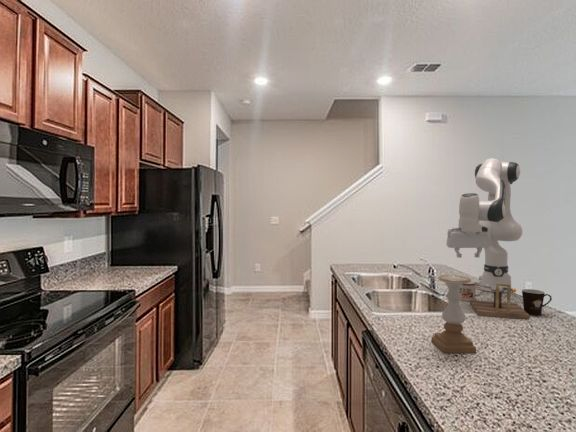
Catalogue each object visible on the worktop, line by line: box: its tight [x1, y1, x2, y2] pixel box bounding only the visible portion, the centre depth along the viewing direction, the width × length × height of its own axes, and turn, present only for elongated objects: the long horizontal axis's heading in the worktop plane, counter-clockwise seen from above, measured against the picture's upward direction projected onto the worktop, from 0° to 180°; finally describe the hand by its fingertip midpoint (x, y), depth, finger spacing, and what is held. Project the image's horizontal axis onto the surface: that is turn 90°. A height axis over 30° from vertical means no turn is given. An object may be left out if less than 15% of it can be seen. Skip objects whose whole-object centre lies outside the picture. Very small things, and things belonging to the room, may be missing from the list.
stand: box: [469, 284, 530, 320], centre depth 178 cm, size 20×20×14 cm
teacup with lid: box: [460, 276, 483, 302], centre depth 199 cm, size 12×9×12 cm
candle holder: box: [431, 274, 477, 354], centre depth 134 cm, size 11×11×24 cm
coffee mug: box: [521, 288, 552, 316], centre depth 174 cm, size 12×9×10 cm
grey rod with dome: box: [474, 281, 517, 293], centre depth 180 cm, size 20×6×3 cm, turn 29°
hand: (468, 257), depth 184 cm, fingers open, 8 cm apart
